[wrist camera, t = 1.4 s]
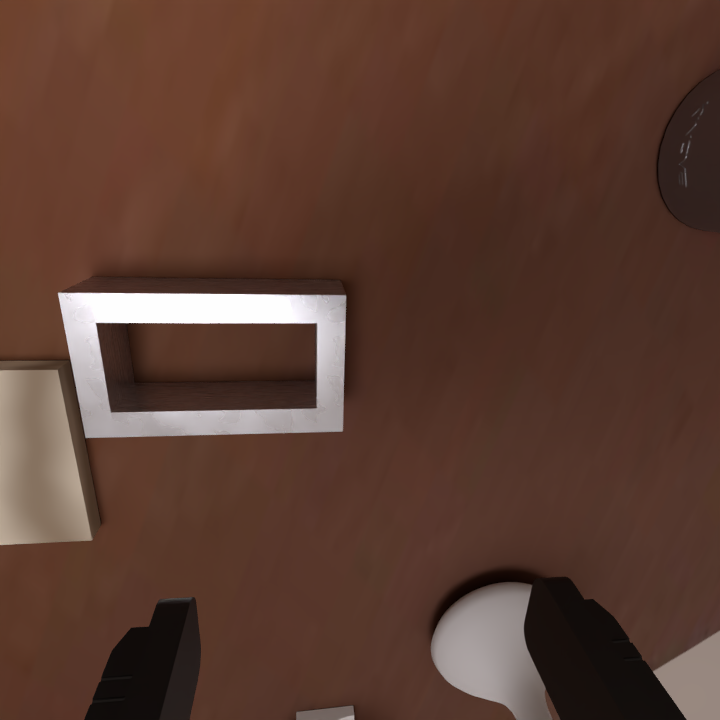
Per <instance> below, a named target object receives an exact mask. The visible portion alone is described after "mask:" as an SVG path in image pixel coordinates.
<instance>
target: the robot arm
mask: <svg viewBox="0 0 720 720" xmlns="http://www.w3.org/2000/svg"><path fill="white" fill-rule="evenodd" d="M658 177H659V185H660V189H661V193H662V197H663V199H664V201H665V203H666V205H667V206H668V208H669V210H670V211H671V212H672V213H673V214H674V216H675V217H676V218H677V219H678V220H680V221H681V222H683V223H684V224H686V225H688V226H689V227H692V228H696V229H700V230H703V231H711V232H718V233H720V70H718V71H716V72H715V73H713V74H712V75H710V76H709V77H707V78H706V79H704V80H703V81H702V82H701V83H700V84H698V85H697V86H696V87H695V88H694V89H693V90H692V91H691V92H690V93H689V94H688V95H687V97H686V98H685V99H684V101H683V102H682V103H681V105H680V106H679V107H678V109H677V110H676V112H675V114H674V116H673V118H672V119H671V121H670V123H669V125H668V127H667V129H666V132H665V135H664V139H663V142H662V145H661V148H660V155H659V162H658ZM524 637H525V642H526V646H527V649H528V652H529V654H530V656H531V658H532V660H533V662H534V665H535V667H536V669H537V671H538V673H539V675H540V677H541V679H542V681H543V684H544V686H545V688H546V690H547V692H548V694H549V696H550V698H551V700H552V702H553V705H554V707H555V709H556V711H557V713H558V715H559V717H560V719H561V720H686V718H685V717H684V715H683V714H682V713H681V711H680V710H679V708H678V707H677V705H676V704H675V703H674V701H673V700H672V698H671V697H670V696H669V694H668V693H667V691H666V690H665V688H664V687H663V686H662V684H661V683H660V681H659V680H658V679H657V677H656V676H655V674H654V673H653V671H652V670H651V669H650V667H649V666H648V664H647V663H646V662H645V661H643V660H642V656H641V654H640V653H639V652H638V650H637V649H636V647H635V646H634V645H633V643H630V641H629V637H628V636H627V635H626V633H625V632H624V630H623V629H622V628H621V626H620V625H619V623H618V622H617V621H616V619H615V618H614V617H613V616H612V615H611V614H610V613H609V612H608V611H606V610H605V609H604V608H603V607H602V606H600V605H599V604H598V603H597V602H596V601H595V600H593V599H588V600H584V598H583V597H582V595H581V594H580V592H579V591H578V589H577V588H576V586H575V585H574V583H573V582H572V581H571V580H570V579H569V578H568V577H552V578H537V579H535V580H534V582H533V584H532V589H531V593H530V598H529V602H528V607H527V612H526V616H525V621H524ZM200 658H201V644H200V634H199V625H198V615H197V606H196V600H195V598H194V597H190V598H173V599H160V600H159V601H158V603H157V605H156V608H155V611H154V614H153V617H152V619H151V622H150V625H149V627H136V628H131V629H130V630H129V631H128V632H127V633H126V635H125V636H124V637H123V638H122V639H121V641H120V642H119V643H118V644H117V645H116V647H115V648H114V649H113V650H112V652H111V654H110V657H109V659H108V662H107V664H106V667H105V669H104V672H103V674H102V679H101V682H99V684H98V687H97V689H96V692H95V694H94V697H93V702H92V705H90V707H89V709H88V712H87V714H86V717H85V719H84V720H189V719H190V714H191V709H192V705H193V700H194V695H195V690H196V685H197V681H198V676H199V669H200Z"/></svg>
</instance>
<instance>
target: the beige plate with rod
mask: <svg viewBox="0 0 720 720" xmlns="http://www.w3.org/2000/svg"><path fill="white" fill-rule="evenodd" d="M100 526H101V522H100V517H99V511H98V506H97V501H96V496H95V491H94V485H93V480H92V475H91V470H90V464H89V459H88V454H87V449H86V444H85V438H84V433H83V428H82V423H81V418H80V412H79V407H78V402H77V397H76V392H75V386H74V381H73V376H72V371H71V365H70V360H55V361H0V545H8V544H28V543H48V542H68V541H88V540H93V538H94V536H95V535H96V533H97V531H98V529H99V528H100Z"/></svg>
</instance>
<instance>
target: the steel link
mask: <svg viewBox="0 0 720 720" xmlns="http://www.w3.org/2000/svg"><path fill="white" fill-rule="evenodd" d="M58 295H59V300H60V306H61V311H62V316H63V321H64V327H65V332H66V337H67V342H68V348H69V353H70V358H71V363H72V369H73V374H74V379H75V384H76V390H77V395H78V400H79V405H80V411H81V416H82V421H83V426H84V432H85V437H86V438H101V437H141V436H180V435H220V434H259V433H299V432H338V431H343V401H344V362H345V323H346V294H345V291H344V288H343V286H342V283H341V280H306V279H225V278H144V277H90V278H88V279H86V280H84V281H82V282H80V283H78V284H76V285H74V286H71V287H69V288H67V289H65V290H63V291H61V292H59V293H58ZM126 323H315V380H314V381H235V382H155V383H135V381H134V374H133V367H132V360H131V353H130V346H129V339H128V332H127V325H126Z"/></svg>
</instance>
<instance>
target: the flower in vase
mask: <svg viewBox="0 0 720 720" xmlns="http://www.w3.org/2000/svg"><path fill="white" fill-rule="evenodd" d="M531 589H532V585H531V584H526V583H520V582H502V583H496V584H491V585H487V586H484V587H481V588H479V589H476V590H474V591H472V592H470V593H468V594H466V595H465V596H463V597H462V598H460V599H459V600H457V601H456V602H455V603H454V604H453V605H451V606H450V608H449V609H448V610H447V611H446V612H445V613H444V614H443V616H442V617H441V619H440V621H439V622H438V624H437V627H436V629H435V632H434V635H433V638H432V642H431V655H432V659H433V662H434V664H435V666H436V667H437V669H438V670H439V672H440V673H441V674H442V676H443V677H444V678H445V679H446V680H447V681H448V682H449V683H450V684H451V685H453V686H455V687H456V688H458V689H460V690H462V691H464V692H466V693H468V694H470V695H473V696H476V697H480V698H483V699H487V700H491V701H496V702H499V703H502V704H504V705H506V706H507V707H508V708H509V709H510V710H511V711H512V713H513V714H514V716H515V718H516V720H552V718H551V715H550V713H549V710H548V707H547V704H546V700H545V686H544V684H543V681H542V679H541V677H540V675H539V673H538V671H537V669H536V667H535V665H534V662H533V660H532V658H531V656H530V654H529V652H528V649H527V646H526V642H525V637H524V621H525V616H526V612H527V607H528V602H529V598H530V593H531Z"/></svg>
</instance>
